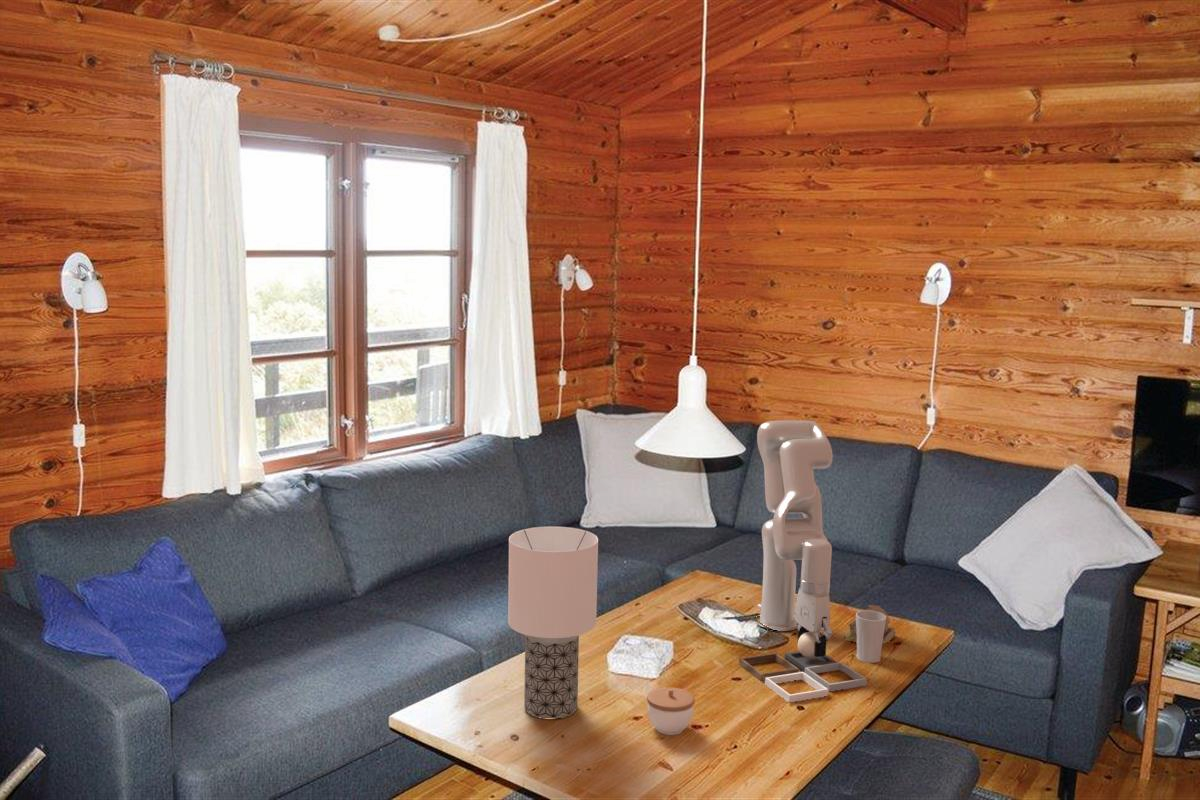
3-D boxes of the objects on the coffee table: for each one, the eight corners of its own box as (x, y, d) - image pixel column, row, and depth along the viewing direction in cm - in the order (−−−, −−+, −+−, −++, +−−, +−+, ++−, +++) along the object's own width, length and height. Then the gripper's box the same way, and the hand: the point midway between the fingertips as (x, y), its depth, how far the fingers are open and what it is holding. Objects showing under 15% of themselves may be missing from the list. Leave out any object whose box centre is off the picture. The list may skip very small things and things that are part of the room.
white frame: (764, 684, 263) (765, 677, 263) (802, 678, 267) (802, 671, 267) (789, 702, 253) (789, 695, 252) (827, 696, 257) (828, 689, 257)
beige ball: (813, 664, 272) (814, 640, 271) (792, 655, 277) (793, 631, 276) (830, 658, 276) (831, 634, 275) (808, 650, 282) (809, 626, 280)
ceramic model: (869, 650, 287) (872, 615, 286) (837, 637, 296) (839, 603, 295) (901, 639, 296) (903, 605, 294) (869, 627, 305) (871, 594, 303)
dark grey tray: (784, 658, 279) (784, 653, 279) (815, 654, 283) (816, 648, 283) (805, 673, 270) (805, 667, 270) (837, 668, 274) (837, 662, 274)
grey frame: (804, 674, 270) (804, 667, 269) (840, 668, 274) (840, 662, 274) (829, 691, 259) (829, 684, 259) (866, 685, 264) (866, 678, 263)
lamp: (554, 682, 261) (556, 521, 255) (612, 709, 247) (616, 540, 241) (489, 706, 247) (490, 537, 241) (547, 737, 233) (550, 557, 226)
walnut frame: (739, 664, 275) (739, 658, 275) (775, 659, 279) (775, 652, 279) (761, 681, 265) (761, 674, 264) (798, 675, 269) (799, 668, 269)
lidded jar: (679, 744, 231) (680, 704, 229) (637, 731, 236) (638, 692, 235) (701, 726, 240) (702, 687, 238) (660, 714, 245) (661, 676, 244)
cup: (880, 653, 285) (883, 611, 283) (885, 664, 277) (888, 621, 275) (851, 651, 286) (853, 609, 284) (855, 663, 278) (858, 620, 276)
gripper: (784, 577, 280) (781, 640, 283) (821, 598, 264) (818, 665, 267) (808, 574, 283) (804, 636, 286) (846, 595, 267) (842, 661, 270)
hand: (811, 649), depth 276 cm, fingers closed on beige ball, 7 cm apart
